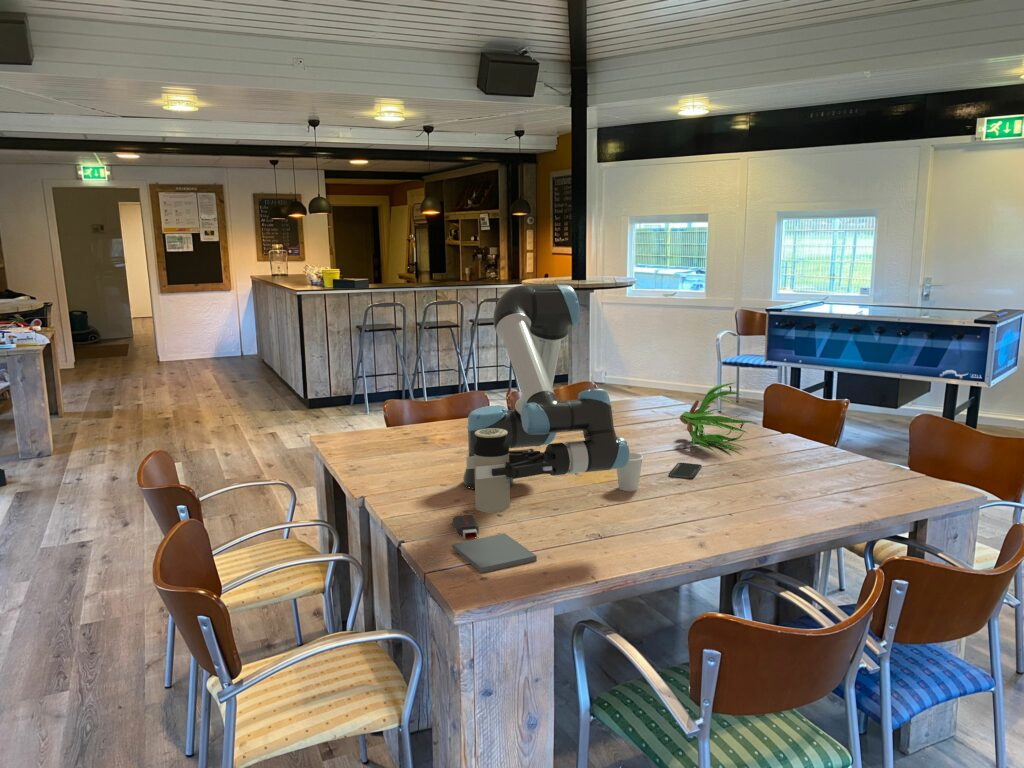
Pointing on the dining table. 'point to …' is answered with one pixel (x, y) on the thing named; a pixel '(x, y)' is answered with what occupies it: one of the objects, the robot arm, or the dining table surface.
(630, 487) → the dixie cup
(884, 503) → the dining table surface
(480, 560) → the charcoal mat
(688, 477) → the phone
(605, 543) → the dining table surface
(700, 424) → the decorative plant
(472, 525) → the usb drive
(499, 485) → the travel mug
